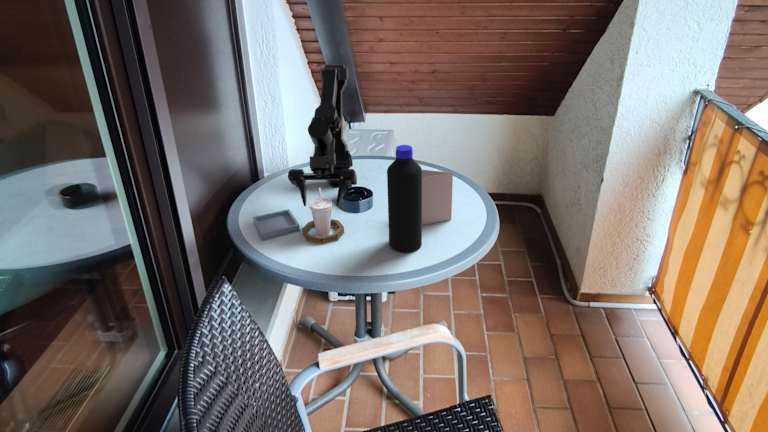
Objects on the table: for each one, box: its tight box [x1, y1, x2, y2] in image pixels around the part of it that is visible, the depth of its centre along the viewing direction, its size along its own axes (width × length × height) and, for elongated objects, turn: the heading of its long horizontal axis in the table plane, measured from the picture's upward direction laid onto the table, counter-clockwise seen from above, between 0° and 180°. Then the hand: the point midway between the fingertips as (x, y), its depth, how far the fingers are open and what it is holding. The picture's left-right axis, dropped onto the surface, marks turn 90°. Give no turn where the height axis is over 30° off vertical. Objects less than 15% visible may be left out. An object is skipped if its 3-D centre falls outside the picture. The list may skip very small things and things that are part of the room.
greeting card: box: [422, 169, 454, 226], centre depth 154 cm, size 11×7×15 cm, turn 72°
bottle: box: [386, 144, 423, 254], centre depth 140 cm, size 9×9×28 cm
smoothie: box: [308, 187, 333, 237], centre depth 150 cm, size 6×6×14 cm
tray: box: [252, 208, 301, 241], centre depth 157 cm, size 11×11×2 cm
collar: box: [301, 218, 345, 245], centre depth 153 cm, size 11×11×2 cm
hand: (321, 205), depth 150 cm, fingers open, 9 cm apart
